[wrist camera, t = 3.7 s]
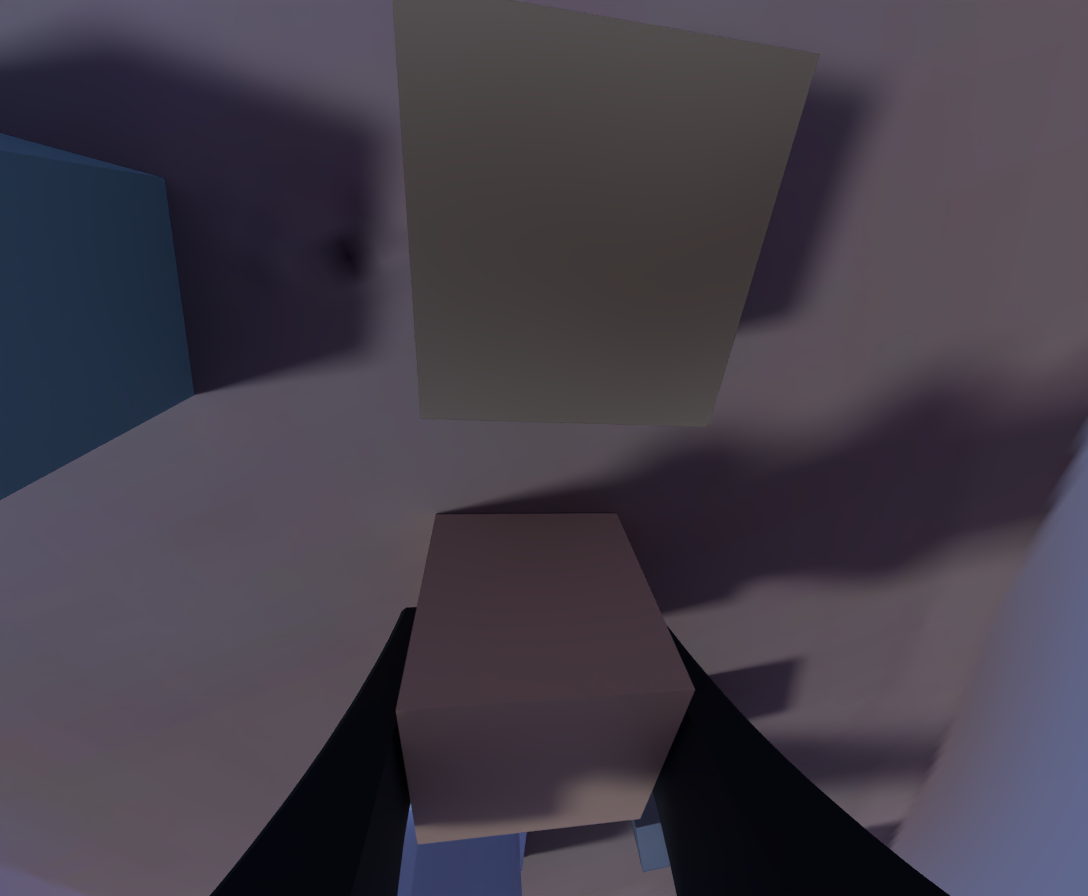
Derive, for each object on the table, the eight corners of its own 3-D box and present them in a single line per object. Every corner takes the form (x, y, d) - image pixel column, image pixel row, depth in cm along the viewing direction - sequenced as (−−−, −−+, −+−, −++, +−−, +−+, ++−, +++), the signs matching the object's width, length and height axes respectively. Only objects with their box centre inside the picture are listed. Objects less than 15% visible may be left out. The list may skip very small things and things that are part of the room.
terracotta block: (592, 630, 14) (639, 818, 9) (442, 637, 13) (417, 844, 9) (616, 513, 11) (695, 689, 7) (435, 514, 11) (396, 710, 6)
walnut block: (626, 354, 9) (707, 427, 6) (450, 345, 9) (419, 418, 5) (664, 140, 7) (820, 53, 4) (443, 111, 7) (390, -21, 3)
